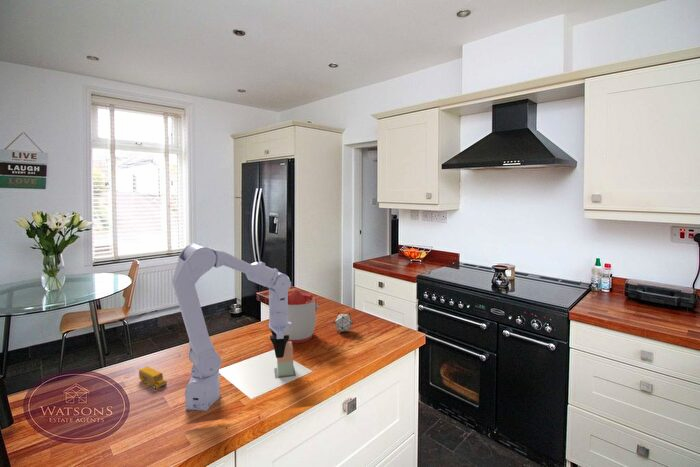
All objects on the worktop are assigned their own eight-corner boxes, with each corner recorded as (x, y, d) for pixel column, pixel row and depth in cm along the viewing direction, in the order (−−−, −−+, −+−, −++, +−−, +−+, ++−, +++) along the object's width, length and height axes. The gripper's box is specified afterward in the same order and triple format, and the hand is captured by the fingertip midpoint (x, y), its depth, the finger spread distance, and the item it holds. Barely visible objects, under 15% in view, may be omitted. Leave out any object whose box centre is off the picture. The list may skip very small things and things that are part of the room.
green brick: (293, 374, 111) (293, 361, 110) (277, 376, 110) (277, 362, 109) (291, 367, 116) (291, 354, 115) (277, 369, 114) (276, 355, 114)
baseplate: (251, 402, 98) (250, 398, 98) (216, 373, 113) (216, 370, 113) (312, 374, 113) (312, 371, 113) (274, 351, 129) (274, 349, 129)
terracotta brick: (292, 361, 110) (292, 347, 110) (277, 362, 109) (277, 349, 109) (291, 354, 115) (291, 341, 114) (276, 355, 114) (276, 342, 113)
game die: (338, 339, 149) (327, 318, 151) (355, 330, 152) (344, 309, 154) (342, 337, 141) (330, 315, 143) (360, 327, 144) (348, 305, 146)
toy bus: (157, 391, 104) (156, 378, 103) (139, 381, 109) (138, 369, 108) (167, 386, 106) (166, 374, 106) (149, 376, 111) (148, 365, 111)
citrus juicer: (325, 343, 137) (325, 293, 134) (280, 350, 130) (280, 298, 128) (314, 328, 151) (314, 283, 149) (273, 334, 145) (272, 287, 142)
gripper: (293, 317, 104) (294, 360, 105) (289, 302, 118) (289, 341, 119) (269, 319, 102) (269, 363, 104) (267, 303, 116) (268, 343, 117)
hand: (278, 351), depth 111 cm, fingers open, 7 cm apart
